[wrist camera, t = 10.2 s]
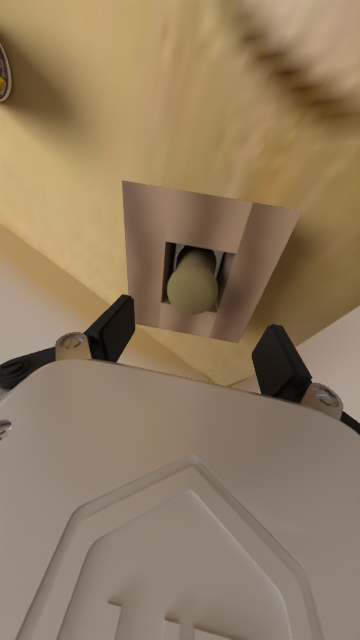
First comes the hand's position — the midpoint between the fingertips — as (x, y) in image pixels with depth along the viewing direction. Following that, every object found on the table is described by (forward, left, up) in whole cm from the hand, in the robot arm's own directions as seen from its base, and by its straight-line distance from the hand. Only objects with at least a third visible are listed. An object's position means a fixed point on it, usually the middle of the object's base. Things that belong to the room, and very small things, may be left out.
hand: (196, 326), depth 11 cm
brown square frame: (+1, 0, -17) cm, 17 cm away
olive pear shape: (+1, 0, -16) cm, 16 cm away
